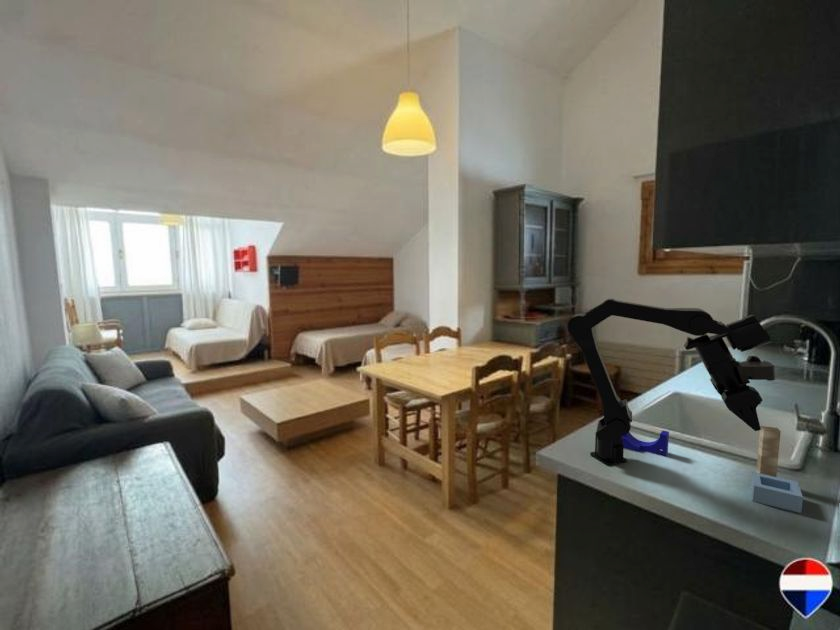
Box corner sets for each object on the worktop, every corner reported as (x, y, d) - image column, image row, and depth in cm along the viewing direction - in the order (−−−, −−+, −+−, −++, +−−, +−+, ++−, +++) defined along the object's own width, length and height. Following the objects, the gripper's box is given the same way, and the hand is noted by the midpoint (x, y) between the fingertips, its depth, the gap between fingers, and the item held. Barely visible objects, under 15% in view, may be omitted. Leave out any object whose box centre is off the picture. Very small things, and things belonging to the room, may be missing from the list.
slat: (759, 483, 92) (763, 429, 91) (755, 479, 94) (760, 426, 92) (775, 485, 91) (780, 431, 89) (771, 481, 93) (776, 427, 91)
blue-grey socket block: (752, 501, 86) (754, 485, 85) (750, 486, 91) (751, 471, 91) (801, 513, 81) (803, 497, 81) (795, 496, 87) (797, 481, 86)
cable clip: (615, 446, 113) (616, 425, 112) (619, 440, 116) (620, 420, 115) (664, 459, 105) (665, 437, 104) (667, 452, 108) (669, 431, 107)
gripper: (771, 355, 80) (812, 427, 78) (748, 338, 96) (781, 398, 95) (709, 374, 85) (746, 443, 83) (697, 356, 101) (728, 413, 100)
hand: (752, 422), depth 90 cm, fingers open, 9 cm apart
